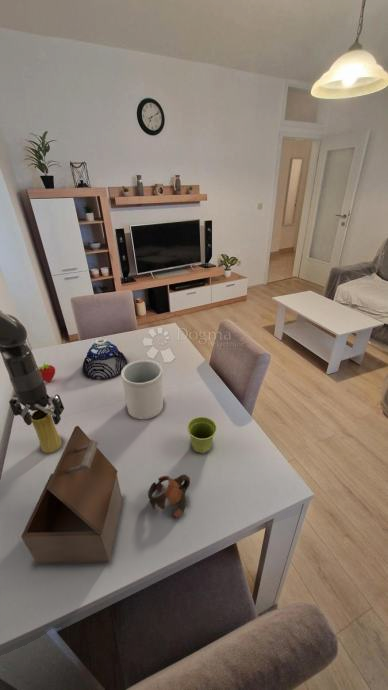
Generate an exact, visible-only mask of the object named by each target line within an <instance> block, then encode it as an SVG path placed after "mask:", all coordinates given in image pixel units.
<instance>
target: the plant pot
mask: <svg viewBox="0 0 388 690" xmlns="http://www.w3.org/2000/svg"><path fill="white" fill-rule="evenodd" d="M186 430H187V433H188V435H189V436H190V441H191V446H192V449H193V451H195V452H196V453H200V454H205V453H207V452H209V451H210V449H211V447H212V443H213V439H214V436H215V435H216V433H217V430H218V426H217V424H216V421H214V420H213V419H211V418H210V417H207V416H197V417H194V418H192V419H191V420H190V421H189V422H188V424H187V428H186Z"/></svg>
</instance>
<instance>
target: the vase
mask: <svg viewBox="0 0 388 690" xmlns="http://www.w3.org/2000/svg"><path fill="white" fill-rule="evenodd" d="M31 420H32V423H31V424H32V426H33V428H34V430H35V433H36V436H37V439H38V441H39V445H40V447H41V451H42V452H43V453H45V454H51V453H54V452H56V451H58V450H59V449H60V448H61V446H62V443H63V441H62V439H61V438H60V435H59V432H58V431H57V428H56V426H55V424H54V421H53V418H52V415H50V414H49V413H45V412H44V411H38V410H35V411H33V412H32V413H31Z"/></svg>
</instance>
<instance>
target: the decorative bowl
mask: <svg viewBox="0 0 388 690" xmlns="http://www.w3.org/2000/svg"><path fill="white" fill-rule="evenodd" d="M92 350H95V351H96V352H93V351H92ZM112 358H115V366H114V367H115V368H114V369H115V370H114V369H113V368H112V367H111V366H109V365H108V364H107V363H106V362H105V363H104V362H101V361H107V360H110V359H112ZM94 361H100V362H94ZM127 364H128V360H127V358H126V356H125V354H124V353H123V352H122V351H120V350H119V348H118V347H117V345H115V344H114V343H112V342H111V341H109V340H107V339H106V338H97V339H95V341H94V342H93V344H91V346H90V347H89V348H88V351H87V352H86V356H85V357H84V359H83V362H82V372H83V375H84V376H85V377H86V378H88V379H90V380H94V381H96V380H97V381H104V380H110V379H113V378H116V377H118V376H121V371H122V369H123V368H124V367H125V366H126V365H127Z"/></svg>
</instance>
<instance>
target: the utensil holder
mask: <svg viewBox="0 0 388 690" xmlns="http://www.w3.org/2000/svg"><path fill="white" fill-rule="evenodd" d="M163 370H164V369H163V367H162V365H161V364H160V363H159V362H157V361H155V360H151V359H138V360H134V361H131V362H128V363H127V365H126V366H125V367H124V366H123V369H122V371H121V374H120V376H121V377H120V378H121V380H122V385H123V391H124V397H125V398H124V399H125V404H126V409H127V412H128V414H129V415H130V416H131V417H133V418H134V419H137V420H150V419H152V418H155V417H156V416H158V415H159V414H160V413H161V412H162V410H163V407H164V391H163V388H164V387H163Z"/></svg>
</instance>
